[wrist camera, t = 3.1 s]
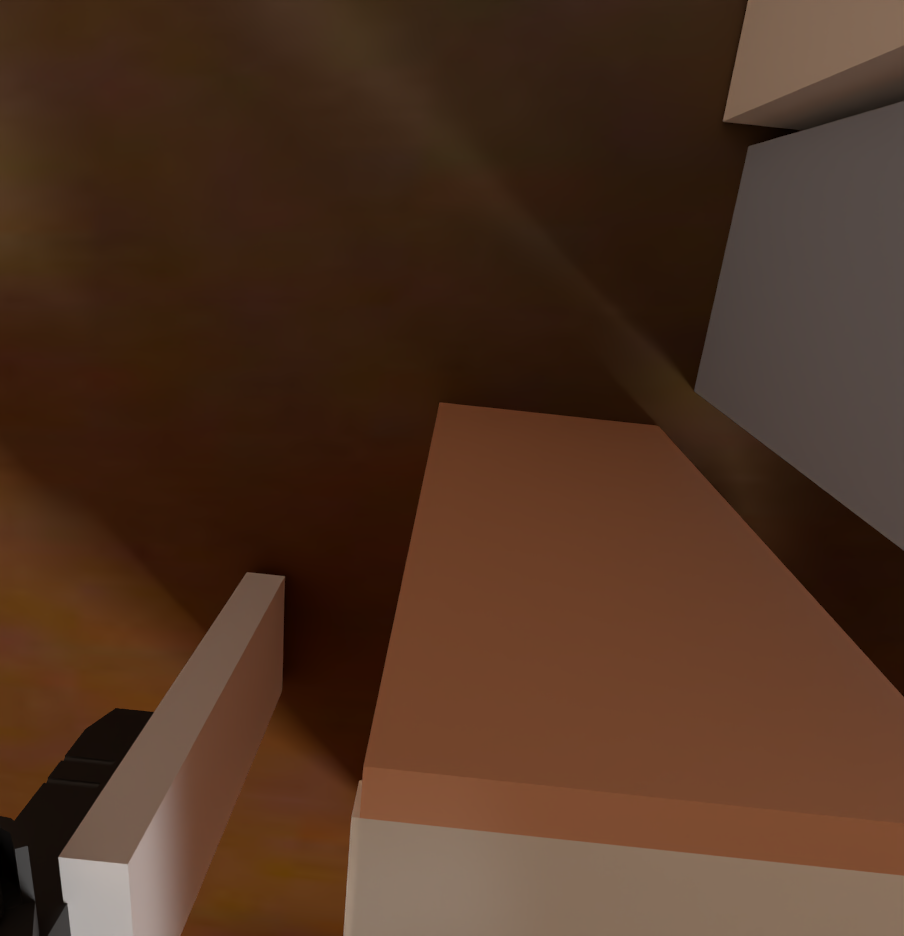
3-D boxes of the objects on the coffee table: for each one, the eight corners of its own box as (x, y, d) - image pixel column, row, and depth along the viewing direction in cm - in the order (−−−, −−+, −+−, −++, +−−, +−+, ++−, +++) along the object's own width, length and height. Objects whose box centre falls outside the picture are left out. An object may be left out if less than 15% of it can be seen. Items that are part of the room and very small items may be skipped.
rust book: (395, 822, 16) (304, 1502, 7) (437, 401, 13) (354, 765, 4) (573, 841, 16) (682, 1542, 7) (660, 425, 13) (1038, 836, 4)
